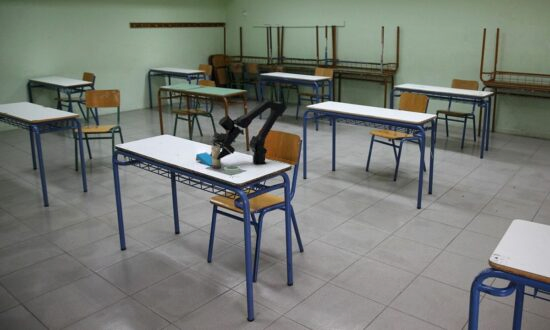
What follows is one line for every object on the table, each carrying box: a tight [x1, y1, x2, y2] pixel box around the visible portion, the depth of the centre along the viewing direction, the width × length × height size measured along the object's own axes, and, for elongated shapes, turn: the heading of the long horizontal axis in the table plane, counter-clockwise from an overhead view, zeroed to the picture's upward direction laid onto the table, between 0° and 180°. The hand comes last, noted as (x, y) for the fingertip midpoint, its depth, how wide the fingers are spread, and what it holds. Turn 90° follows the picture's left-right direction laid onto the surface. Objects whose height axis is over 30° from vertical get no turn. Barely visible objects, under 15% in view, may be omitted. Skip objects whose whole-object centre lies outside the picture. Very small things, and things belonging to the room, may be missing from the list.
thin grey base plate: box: [205, 163, 247, 177], centre depth 261 cm, size 22×12×4 cm, turn 47°
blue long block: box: [195, 152, 212, 167], centre depth 276 cm, size 7×7×18 cm
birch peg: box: [210, 145, 222, 169], centre depth 263 cm, size 5×5×12 cm
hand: (213, 157), depth 262 cm, fingers open, 9 cm apart
